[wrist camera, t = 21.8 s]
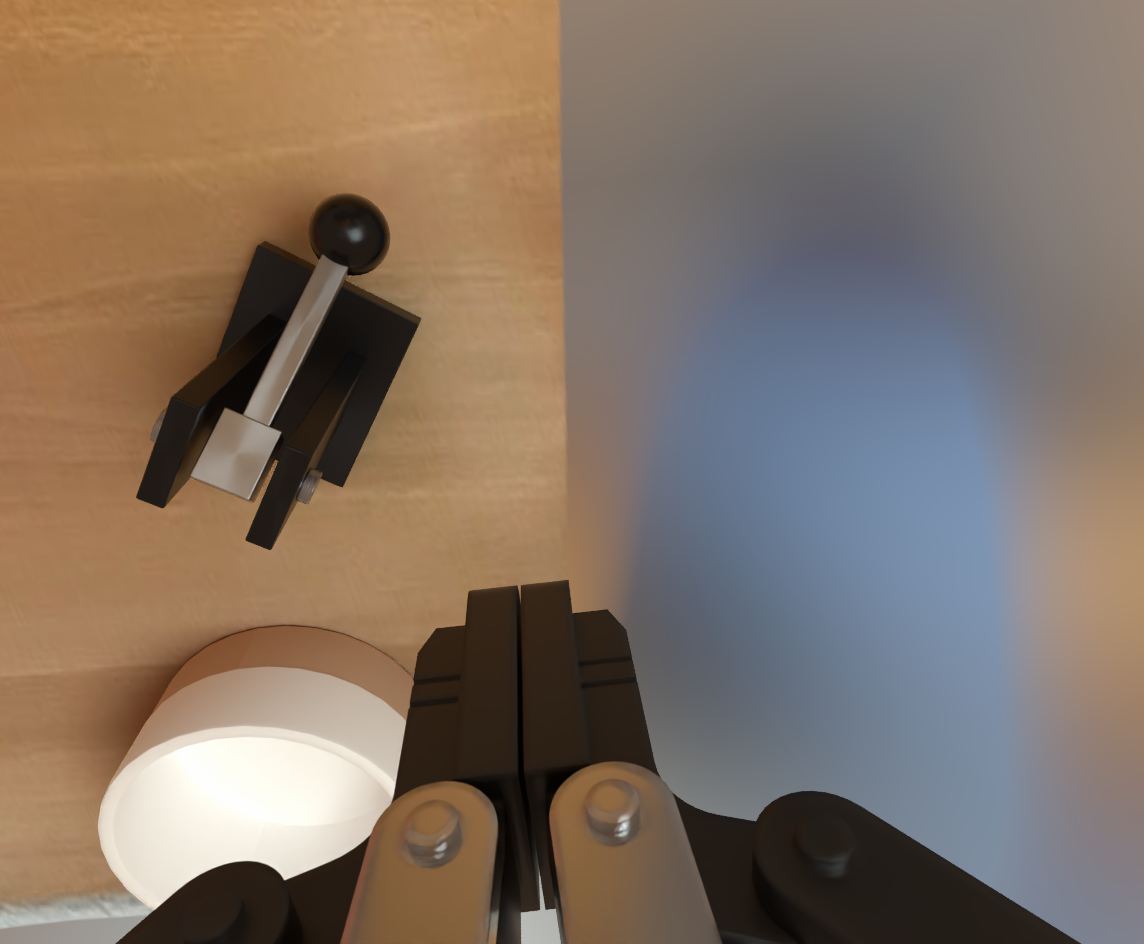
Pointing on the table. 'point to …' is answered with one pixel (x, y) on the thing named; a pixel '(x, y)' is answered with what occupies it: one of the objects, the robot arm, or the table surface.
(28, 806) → the table surface
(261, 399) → the lever handle
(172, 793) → the bowl
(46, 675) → the table surface
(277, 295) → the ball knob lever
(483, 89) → the table surface
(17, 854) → the table surface
